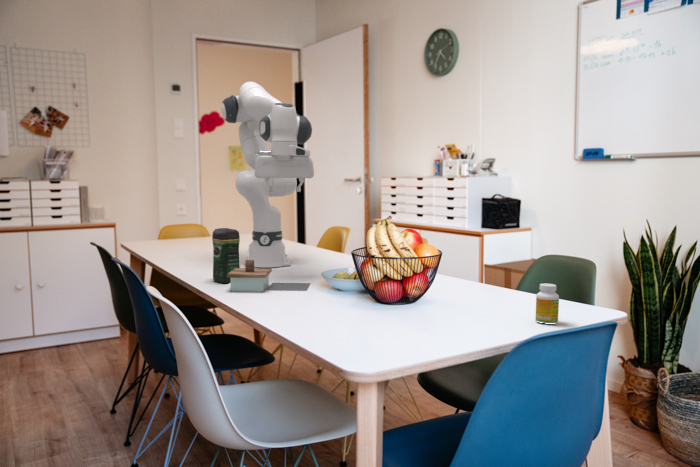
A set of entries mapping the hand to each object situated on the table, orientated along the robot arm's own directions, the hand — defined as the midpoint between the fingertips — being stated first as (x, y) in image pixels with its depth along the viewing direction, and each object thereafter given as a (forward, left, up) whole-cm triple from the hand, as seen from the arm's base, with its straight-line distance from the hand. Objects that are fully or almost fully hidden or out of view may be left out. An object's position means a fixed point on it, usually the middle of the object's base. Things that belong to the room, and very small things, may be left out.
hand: (284, 191), depth 197 cm
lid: (+16, -9, -26) cm, 32 cm away
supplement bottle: (+53, +74, -31) cm, 96 cm away
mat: (+12, +3, -31) cm, 33 cm away
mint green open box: (+16, -9, -31) cm, 36 cm away
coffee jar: (+2, -20, -31) cm, 37 cm away
